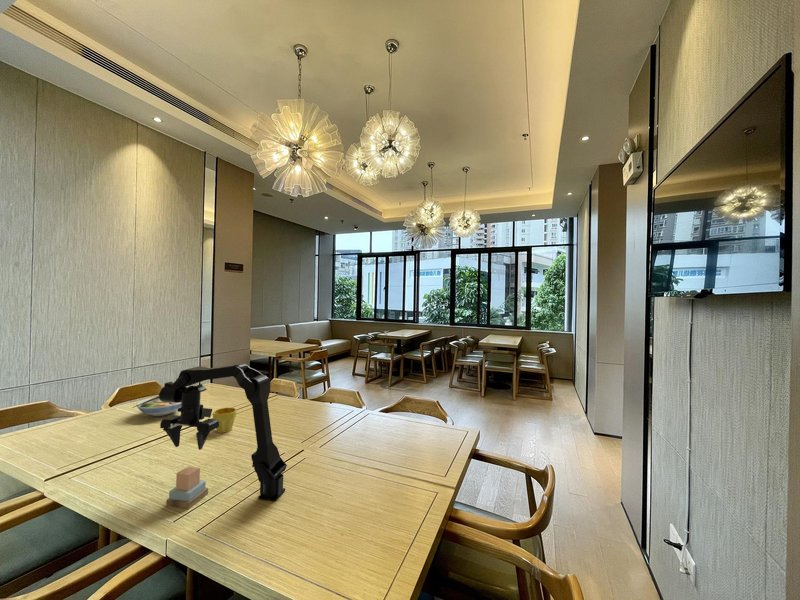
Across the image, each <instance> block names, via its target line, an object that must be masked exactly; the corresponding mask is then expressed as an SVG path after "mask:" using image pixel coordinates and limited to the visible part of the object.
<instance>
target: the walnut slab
mask: <svg viewBox="0 0 800 600" xmlns="http://www.w3.org/2000/svg"><path fill="white" fill-rule="evenodd" d="M208 494H209V488H208V487H205V489H204V490H203V491H202V492H201V493H199V494H198V495H197V496H196V497H194V498H193V499H192V500H191V501H181V500H172V499H169V497H168V498H167V499H166V500H165V501H166V505H165V506H166V507H169V508H170V507H171V508H178V509H179V508H180V509H185V510H190V509H191V508H192V507H194V506H195V505H196V504H198V502H200V501H201V500H202V499H204V498H205V497H206V496H207V495H208Z"/></svg>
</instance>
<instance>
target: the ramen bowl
mask: <svg viewBox="0 0 800 600" xmlns="http://www.w3.org/2000/svg"><path fill="white" fill-rule="evenodd" d="M136 407H137V409H138V410H139V411H140V412H141V413H143V414H146V415H148V416H153V417H165V416H168V415H170V414H172V413H175V412H177V411H178V408H181V402H179V403H173V402H163V401H161V400H160V399H159V395H157V396H155V397H150V398H146V399H143V400H140V401H139V402H137V403H136V405H134V406H133V407H132V408H136ZM132 408H131V409H132Z"/></svg>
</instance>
